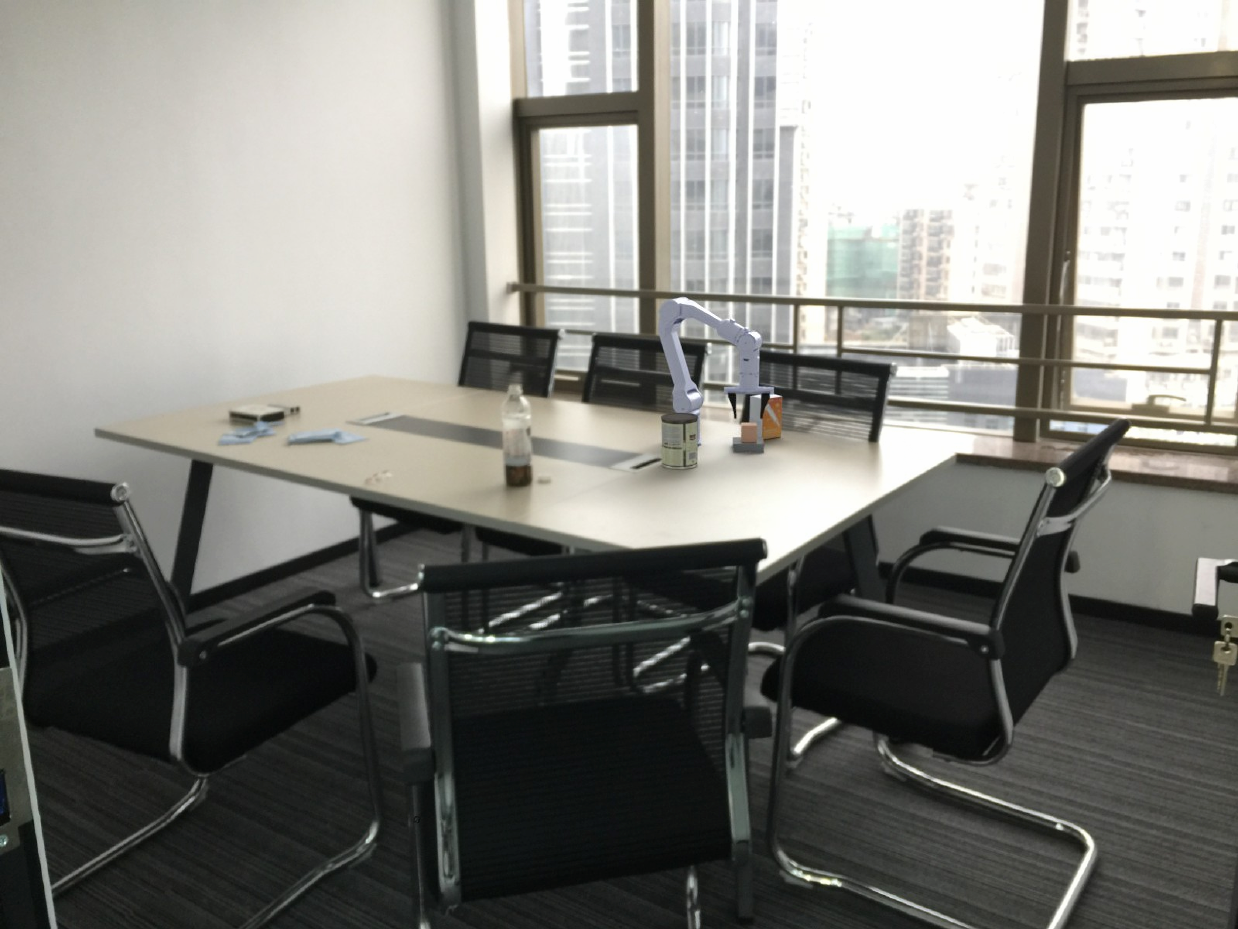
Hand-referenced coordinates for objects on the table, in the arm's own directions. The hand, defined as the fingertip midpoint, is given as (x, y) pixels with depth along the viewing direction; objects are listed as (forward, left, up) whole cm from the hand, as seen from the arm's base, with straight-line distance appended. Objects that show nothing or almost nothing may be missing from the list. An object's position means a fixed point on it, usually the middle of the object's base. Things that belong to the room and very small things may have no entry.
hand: (748, 418), depth 317 cm
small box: (+6, +16, -10) cm, 20 cm away
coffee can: (-20, -20, -10) cm, 30 cm away
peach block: (0, 0, -7) cm, 7 cm away
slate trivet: (0, 0, -10) cm, 10 cm away
